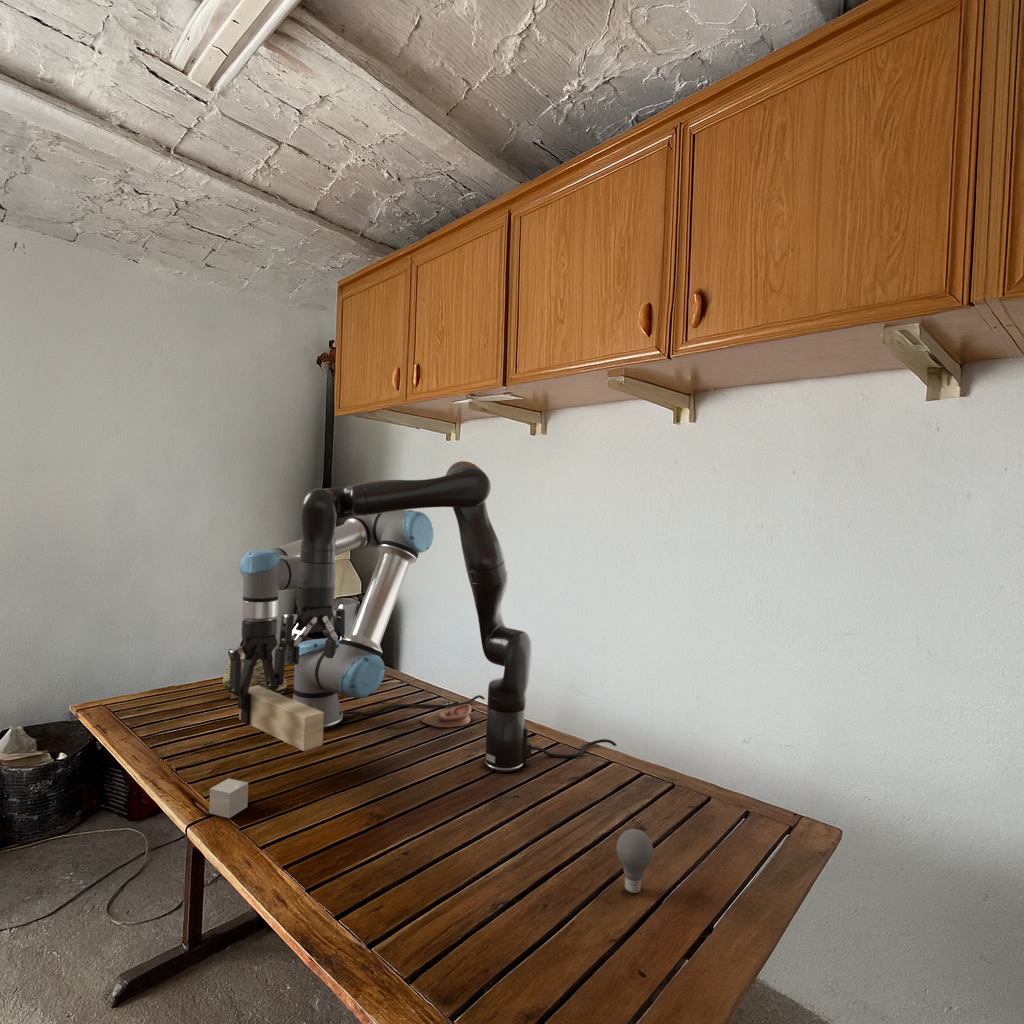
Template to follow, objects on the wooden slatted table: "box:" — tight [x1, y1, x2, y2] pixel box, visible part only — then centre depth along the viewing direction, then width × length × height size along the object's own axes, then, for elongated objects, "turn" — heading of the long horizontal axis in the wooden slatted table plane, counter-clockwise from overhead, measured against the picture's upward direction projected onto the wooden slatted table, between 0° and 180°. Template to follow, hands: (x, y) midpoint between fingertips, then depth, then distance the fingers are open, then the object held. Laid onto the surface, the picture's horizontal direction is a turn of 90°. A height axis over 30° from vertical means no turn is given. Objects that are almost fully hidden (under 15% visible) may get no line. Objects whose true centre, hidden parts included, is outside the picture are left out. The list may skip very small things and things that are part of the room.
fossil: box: [222, 651, 288, 699], centre depth 198 cm, size 9×18×15 cm, turn 132°
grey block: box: [208, 778, 249, 819], centre depth 126 cm, size 5×5×5 cm
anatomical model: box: [421, 703, 472, 728], centre depth 182 cm, size 13×4×12 cm
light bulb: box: [615, 828, 654, 894], centre depth 106 cm, size 6×6×10 cm
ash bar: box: [238, 685, 324, 752], centre depth 139 cm, size 26×4×7 cm, turn 51°
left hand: (256, 719), depth 145 cm, fingers closed on ash bar, 4 cm apart
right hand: (311, 660), depth 133 cm, fingers open, 8 cm apart
